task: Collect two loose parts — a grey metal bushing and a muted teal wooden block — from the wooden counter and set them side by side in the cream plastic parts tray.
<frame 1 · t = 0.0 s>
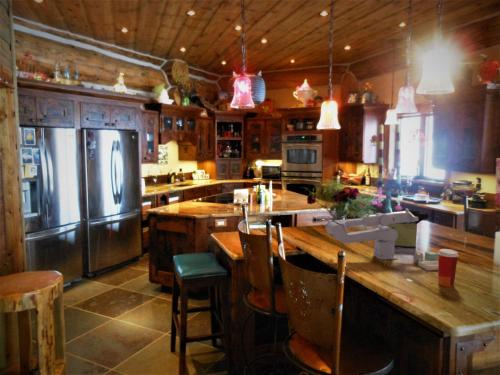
hand: (423, 214, 196), 22 cm above the kitchen island, tool horizontal, fingers open, 7 cm apart
parts tray: (434, 267, 179), on the kitchen island
metal bushing: (417, 263, 186), on the kitchen island
paper cup: (445, 284, 158), on the kitchen island
protein box: (399, 246, 218), on the kitchen island
teal block: (430, 262, 187), on the kitchen island
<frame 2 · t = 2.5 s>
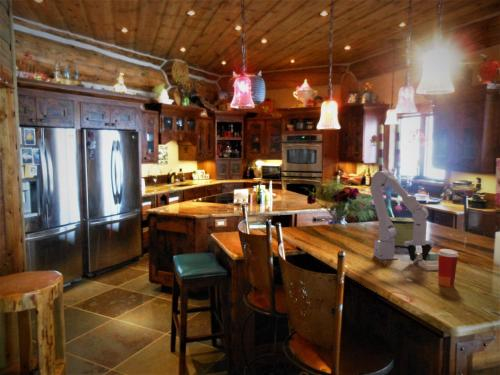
hand: (417, 260, 185), 2 cm above the kitchen island, tool pointing down, fingers open, 6 cm apart
nothing on the kitchen island moved.
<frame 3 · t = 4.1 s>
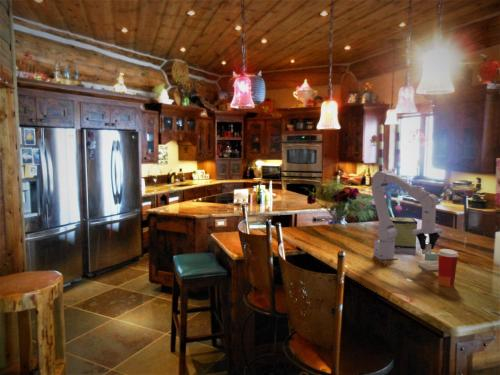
hand: (426, 248, 180), 9 cm above the kitchen island, tool pointing down, fingers closed on metal bushing, 4 cm apart
metal bushing: (426, 253, 180), point 6 cm above the kitchen island, touching gripper
everything else where it was.
when the fingers open (3 cm above the kitchen island, at t = 5.6 s): metal bushing stays where it is, resting on parts tray.
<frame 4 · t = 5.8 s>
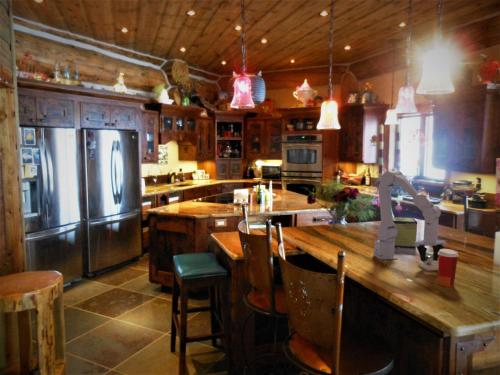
hand: (428, 260, 179), 3 cm above the kitchen island, tool pointing down, fingers open, 6 cm apart
metal bushing: (428, 266, 179), point 1 cm above the kitchen island, touching parts tray
everything else where it was.
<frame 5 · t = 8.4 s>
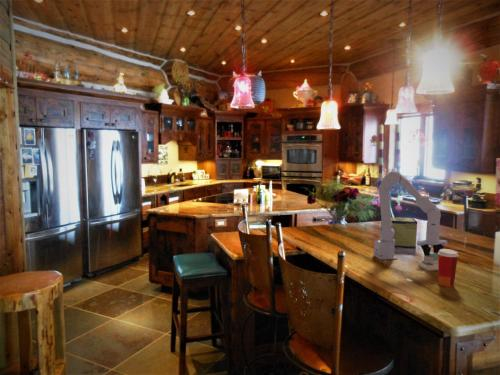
hand: (431, 259, 187), 2 cm above the kitchen island, tool pointing down, fingers closed on teal block, 4 cm apart
teal block: (430, 262, 187), on the kitchen island, touching gripper
everything else where it was.
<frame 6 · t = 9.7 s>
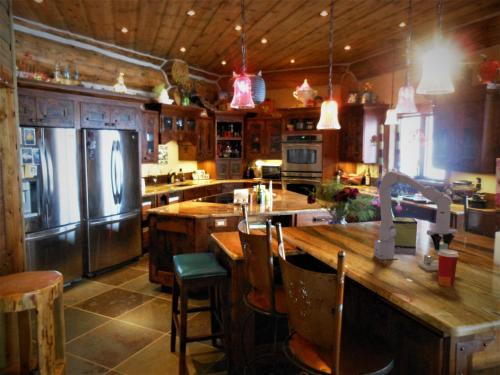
hand: (441, 249, 179), 8 cm above the kitchen island, tool pointing down, fingers closed on teal block, 4 cm apart
teal block: (440, 253, 180), point 7 cm above the kitchen island, touching gripper
everything else where it was.
when the fingers open (3 cm above the kitchen island, at t = 11.1 s): teal block stays where it is, resting on parts tray.
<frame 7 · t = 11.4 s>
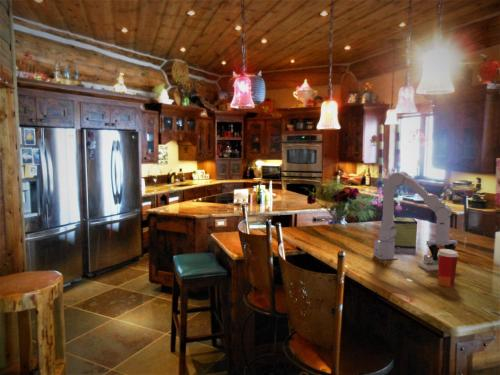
hand: (440, 260, 179), 3 cm above the kitchen island, tool pointing down, fingers open, 6 cm apart
metal bushing: (428, 266, 179), point 1 cm above the kitchen island, touching gripper, parts tray
teal block: (440, 265, 180), point 1 cm above the kitchen island, touching parts tray
everything else where it was.
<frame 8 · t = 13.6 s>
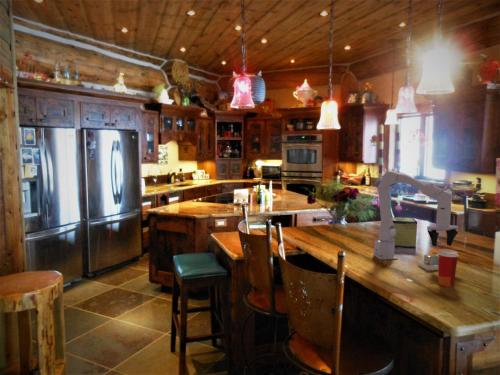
hand: (441, 245, 179), 10 cm above the kitchen island, tool pointing down, fingers open, 7 cm apart
metal bushing: (428, 266, 179), point 1 cm above the kitchen island, touching parts tray
everything else where it was.
at the end: metal bushing inside the target area on the parts tray (3.0 cm from its centre), point 0.6 cm above the parts tray's base; teal block inside the target area on the parts tray (3.0 cm from its centre), point 0.6 cm above the parts tray's base; the gripper is holding nothing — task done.
